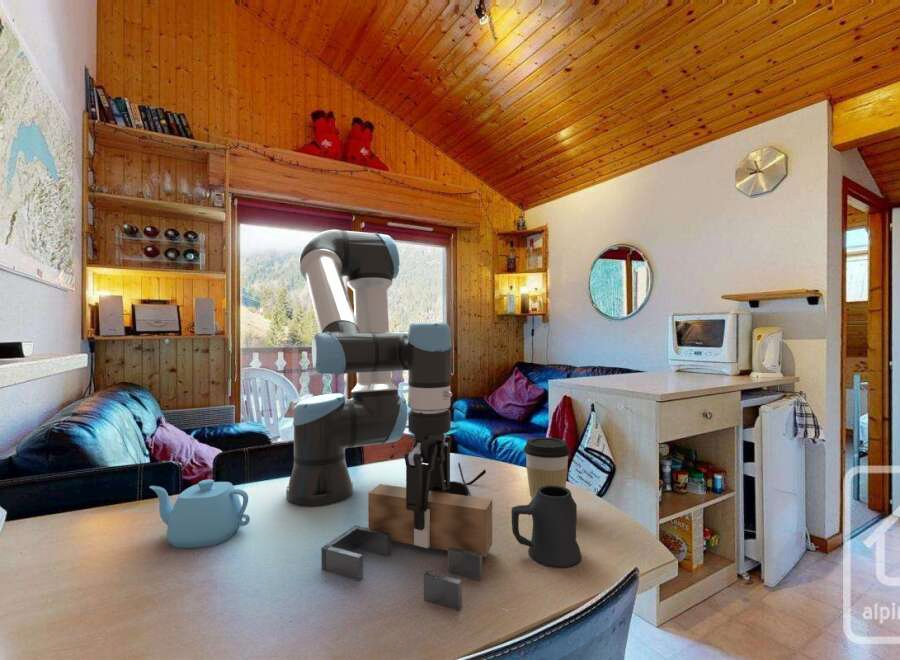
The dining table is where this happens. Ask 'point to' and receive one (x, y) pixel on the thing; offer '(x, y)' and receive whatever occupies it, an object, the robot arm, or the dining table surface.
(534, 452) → the coffee cup
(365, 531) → the slat support bracket
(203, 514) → the teapot
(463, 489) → the sunglasses
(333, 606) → the dining table surface
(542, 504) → the mug
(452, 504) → the walnut slat
